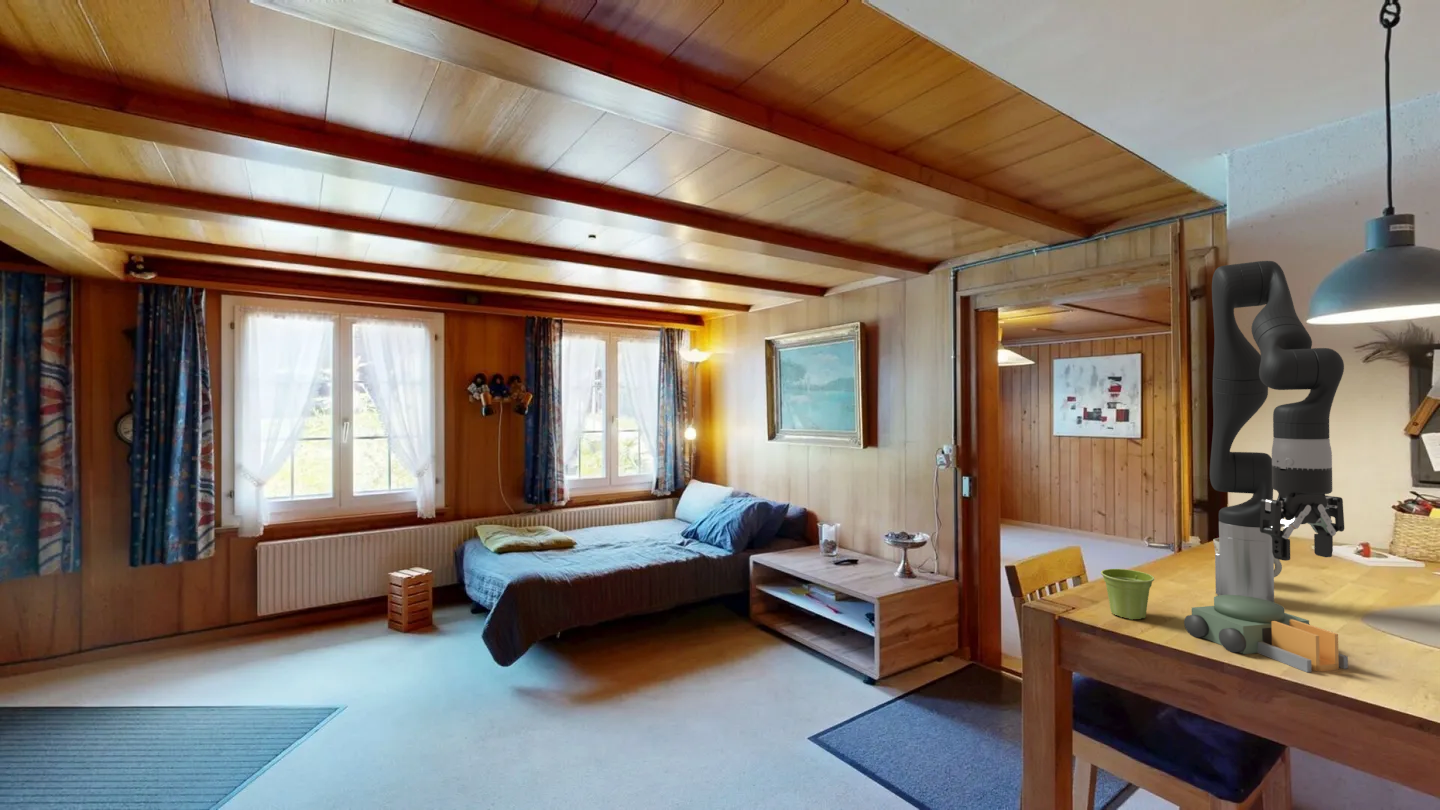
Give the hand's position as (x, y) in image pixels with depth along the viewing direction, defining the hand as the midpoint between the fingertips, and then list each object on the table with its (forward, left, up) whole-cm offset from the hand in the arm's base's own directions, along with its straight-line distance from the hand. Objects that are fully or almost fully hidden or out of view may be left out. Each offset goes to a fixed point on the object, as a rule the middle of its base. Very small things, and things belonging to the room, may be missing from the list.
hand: (1302, 557), depth 104 cm
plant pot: (-25, -11, -18) cm, 33 cm away
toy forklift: (-6, 0, -18) cm, 19 cm away
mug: (-38, +34, -18) cm, 54 cm away
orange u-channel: (0, 0, -18) cm, 18 cm away
